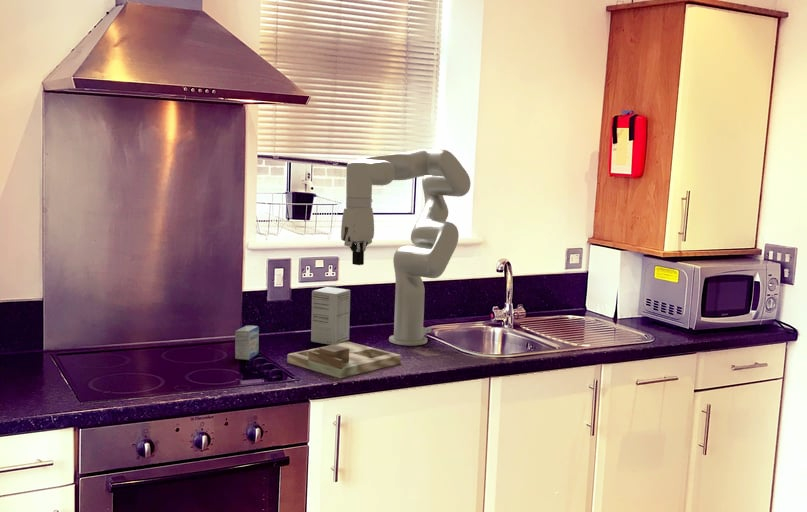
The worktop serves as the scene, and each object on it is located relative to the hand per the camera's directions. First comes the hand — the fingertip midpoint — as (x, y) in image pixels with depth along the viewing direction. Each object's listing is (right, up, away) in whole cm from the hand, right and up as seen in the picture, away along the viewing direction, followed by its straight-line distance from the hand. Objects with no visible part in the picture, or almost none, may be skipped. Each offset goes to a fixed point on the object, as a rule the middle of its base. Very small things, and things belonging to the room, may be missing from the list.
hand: (358, 264), depth 264 cm
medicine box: (-33, -28, -1) cm, 43 cm away
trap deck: (-4, -29, -4) cm, 29 cm away
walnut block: (-6, -28, -14) cm, 31 cm away
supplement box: (-10, -25, +23) cm, 35 cm away
